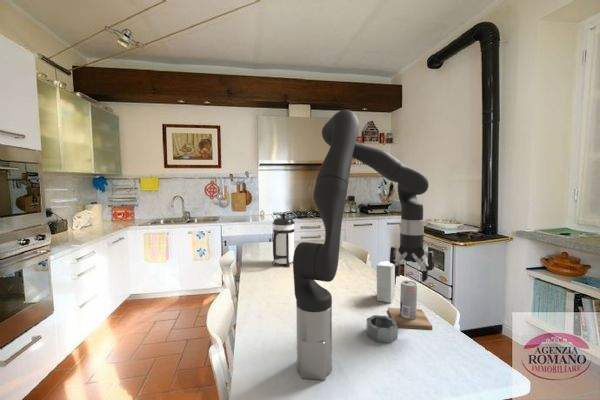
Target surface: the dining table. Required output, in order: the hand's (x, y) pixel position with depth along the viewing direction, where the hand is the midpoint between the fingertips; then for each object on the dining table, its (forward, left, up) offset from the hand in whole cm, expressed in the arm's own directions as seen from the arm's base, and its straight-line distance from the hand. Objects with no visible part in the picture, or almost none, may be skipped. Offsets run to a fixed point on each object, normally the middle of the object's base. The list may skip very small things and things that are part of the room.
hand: (410, 278), depth 97 cm
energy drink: (+1, 0, -14) cm, 14 cm away
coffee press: (+58, +56, -15) cm, 83 cm away
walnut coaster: (0, 0, -15) cm, 15 cm away
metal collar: (-11, +11, -15) cm, 21 cm away
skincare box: (+17, +5, -15) cm, 24 cm away
